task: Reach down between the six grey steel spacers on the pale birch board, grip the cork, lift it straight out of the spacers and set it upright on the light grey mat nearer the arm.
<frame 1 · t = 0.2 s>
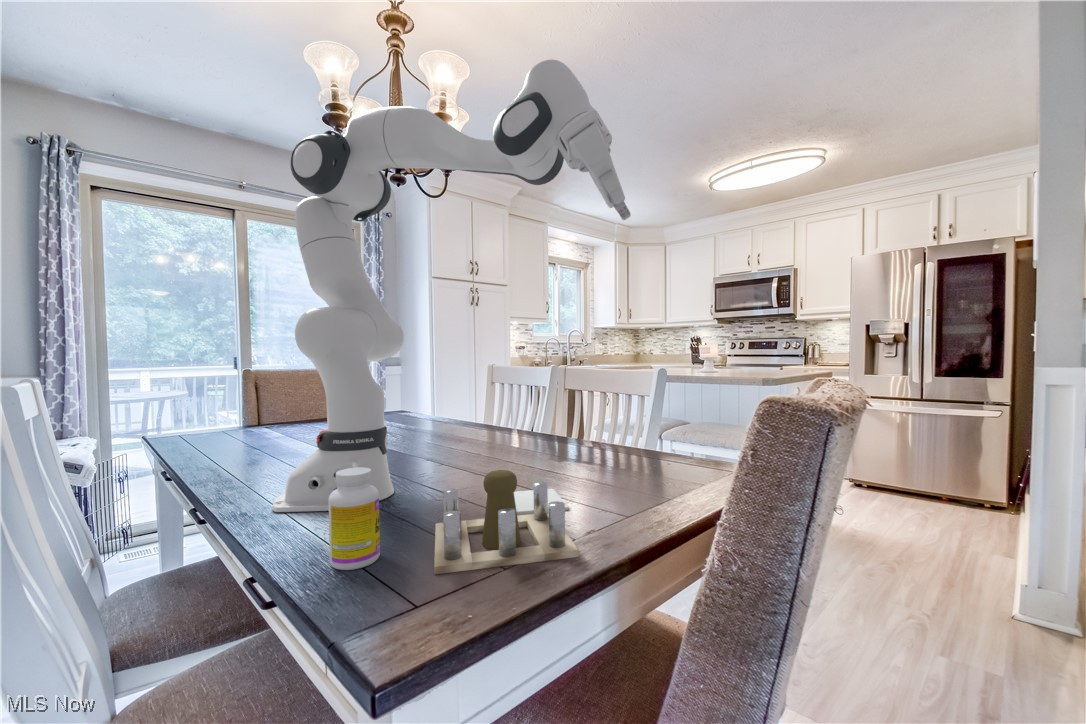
hand: (624, 209, 78), 54 cm above the table, tool tilted 30°, fingers open, 8 cm apart
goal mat: (530, 502, 88), on the table
steel spacers: (501, 516, 70), on the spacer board, point 4 cm above the table
supplement bottle: (355, 562, 64), on the table
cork: (501, 543, 70), resting in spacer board
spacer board: (501, 542, 70), on the table
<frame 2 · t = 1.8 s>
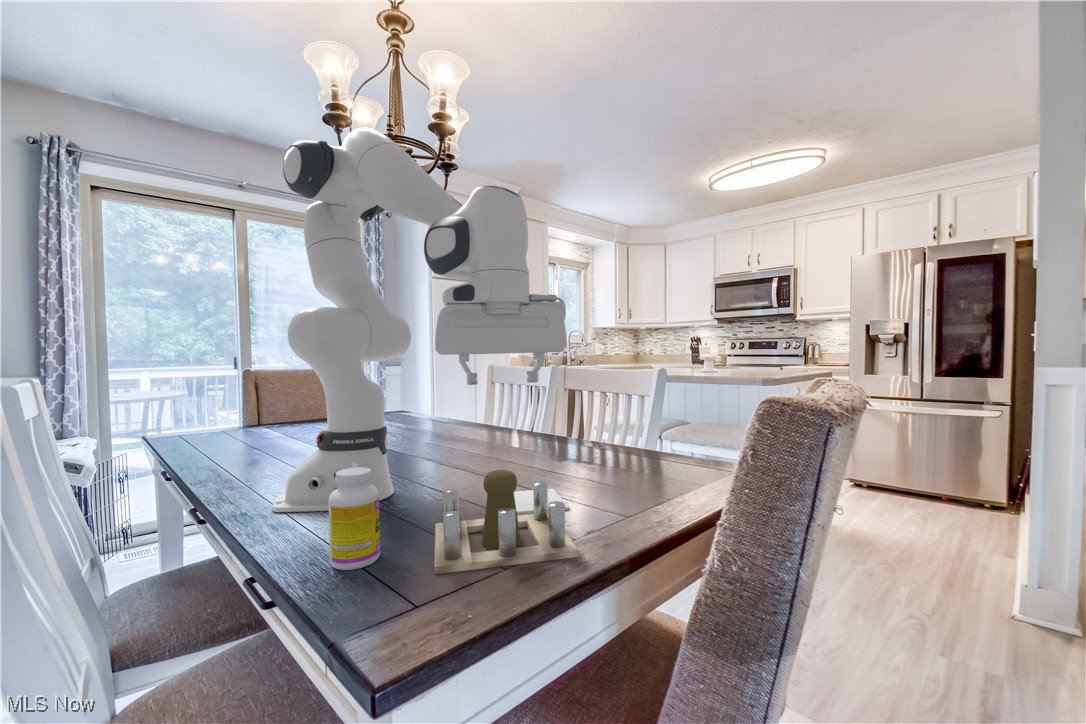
hand: (502, 383, 70), 25 cm above the table, tool pointing down, fingers open, 8 cm apart
nothing on the table moved.
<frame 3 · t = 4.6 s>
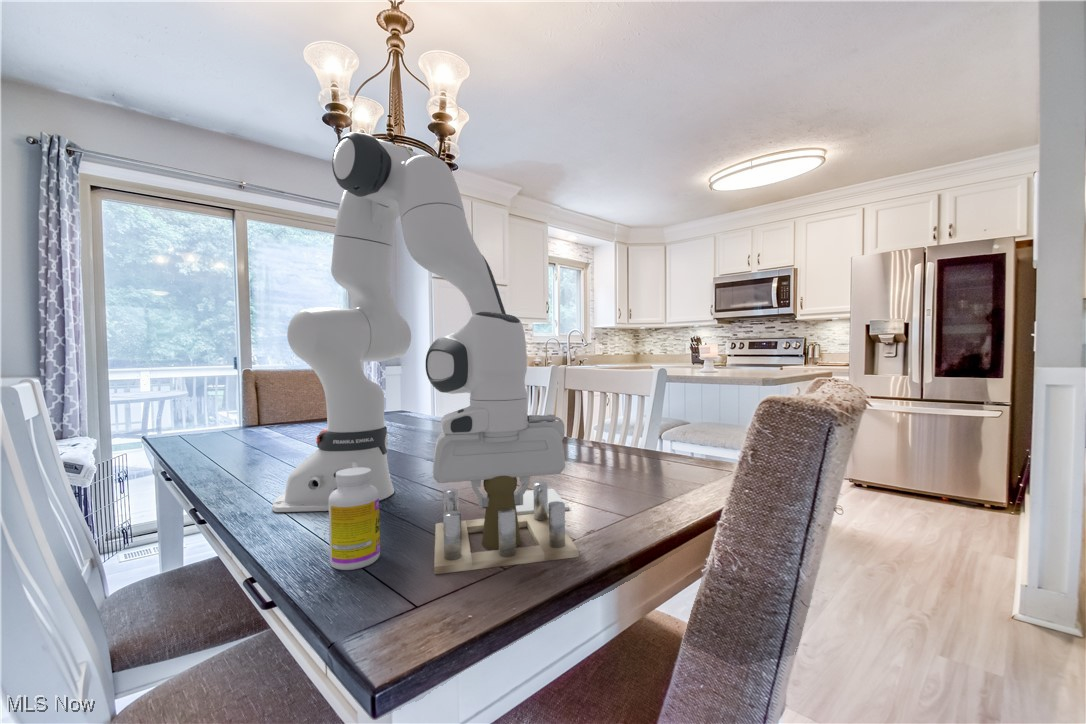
hand: (500, 506, 70), 6 cm above the table, tool pointing down, fingers closed on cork, 4 cm apart
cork: (501, 543, 70), resting in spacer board, touching gripper
everything else where it was.
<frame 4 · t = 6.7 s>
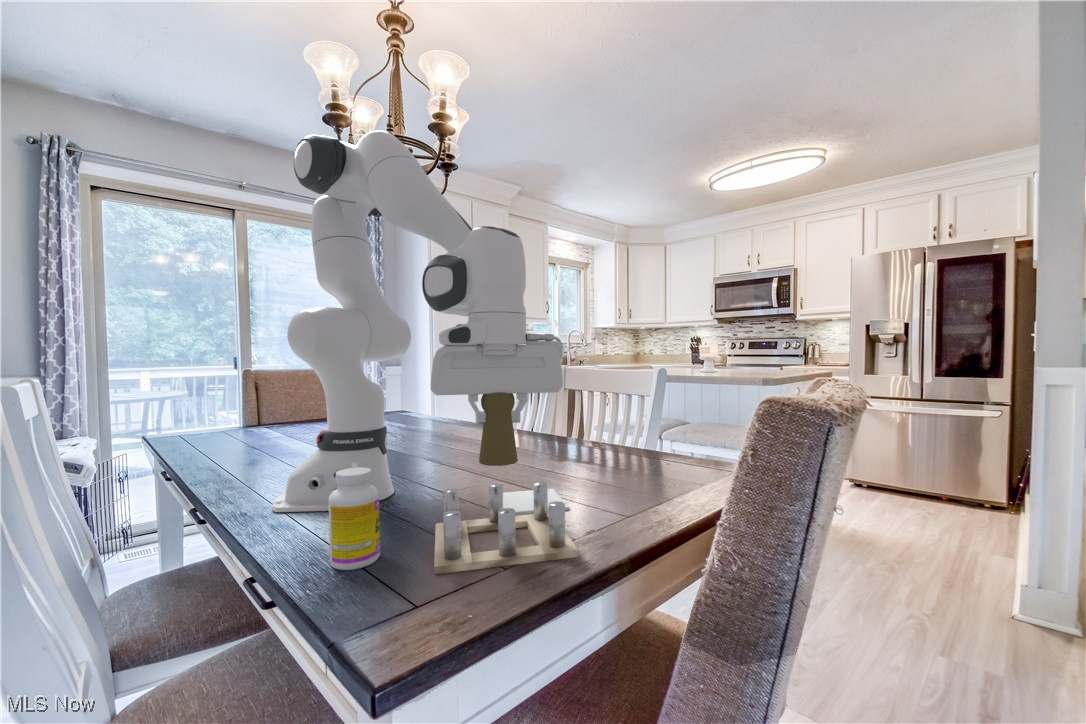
hand: (497, 423, 70), 18 cm above the table, tool pointing down, fingers closed on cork, 4 cm apart
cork: (498, 462, 70), point 12 cm above the table, touching gripper
everything else where it was.
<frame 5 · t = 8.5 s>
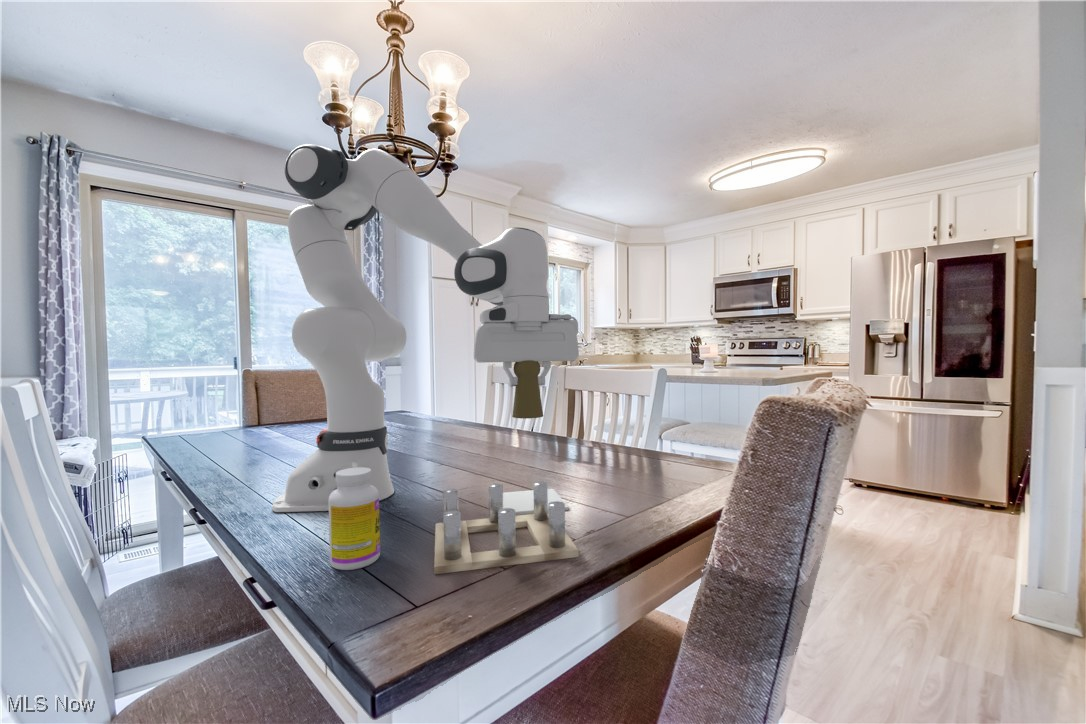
hand: (527, 385, 87), 23 cm above the table, tool pointing down, fingers closed on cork, 4 cm apart
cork: (527, 417, 87), point 17 cm above the table, touching gripper
everything else where it was.
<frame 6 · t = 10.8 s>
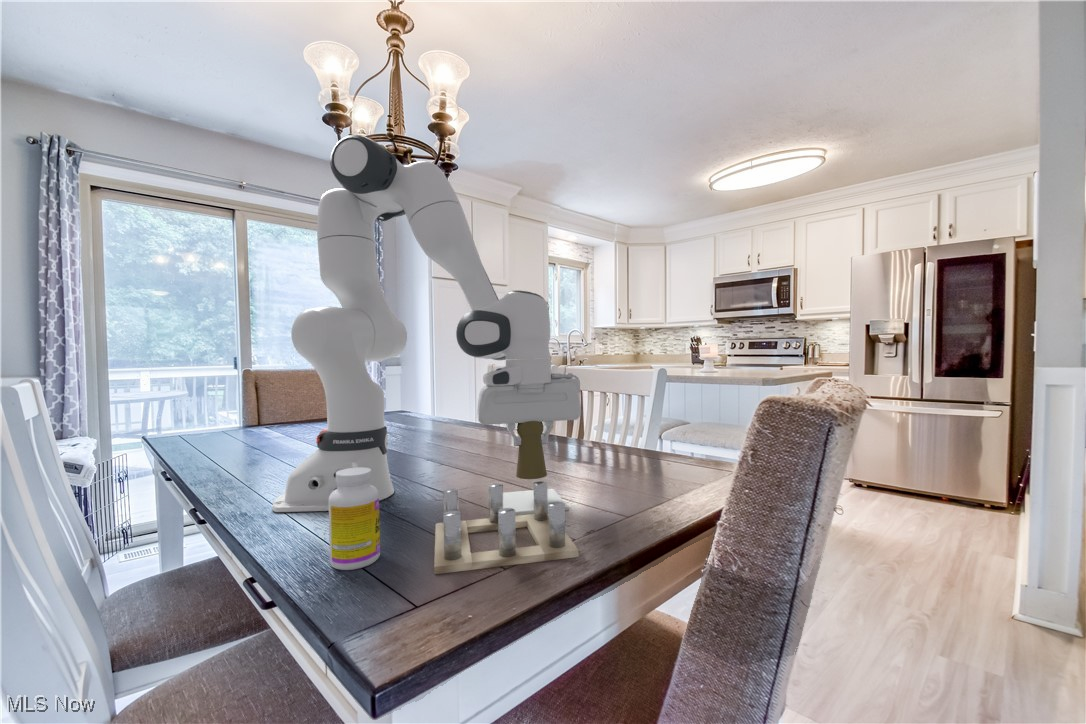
hand: (530, 445, 88), 11 cm above the table, tool pointing down, fingers closed on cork, 4 cm apart
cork: (531, 476, 88), point 5 cm above the table, touching gripper
everything else where it was.
when the fingers open (8 cm above the table, at t = 12.5 s): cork stays where it is, resting on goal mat.
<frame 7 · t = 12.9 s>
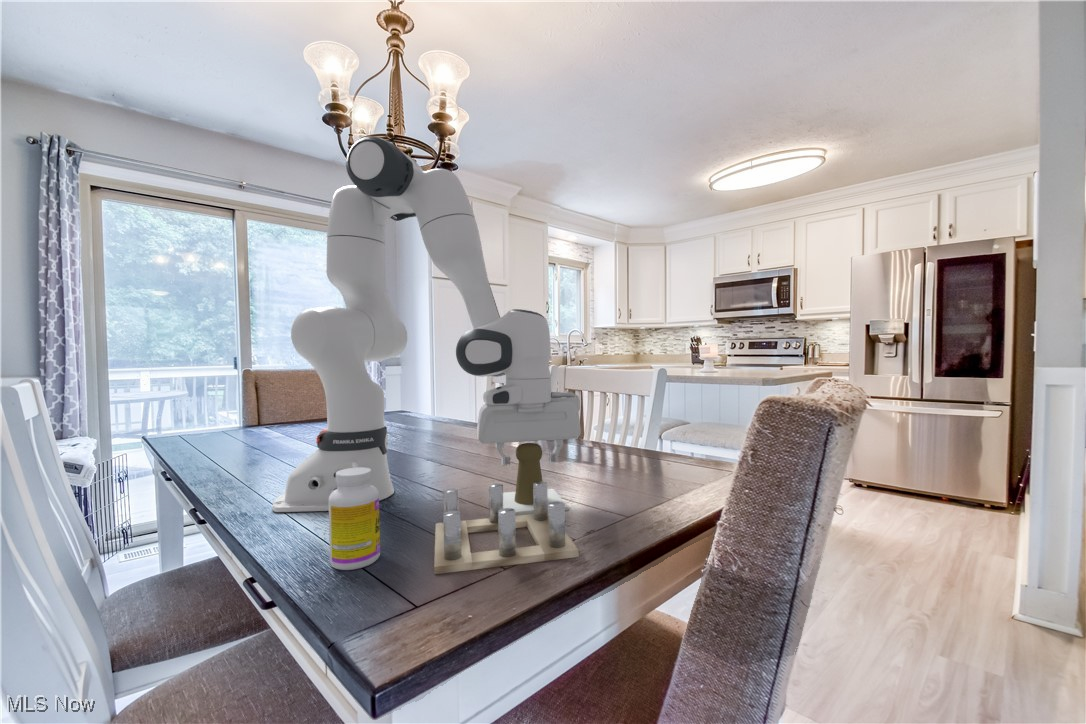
hand: (529, 463, 88), 8 cm above the table, tool pointing down, fingers open, 8 cm apart
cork: (529, 500, 88), resting on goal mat
everything else where it was.
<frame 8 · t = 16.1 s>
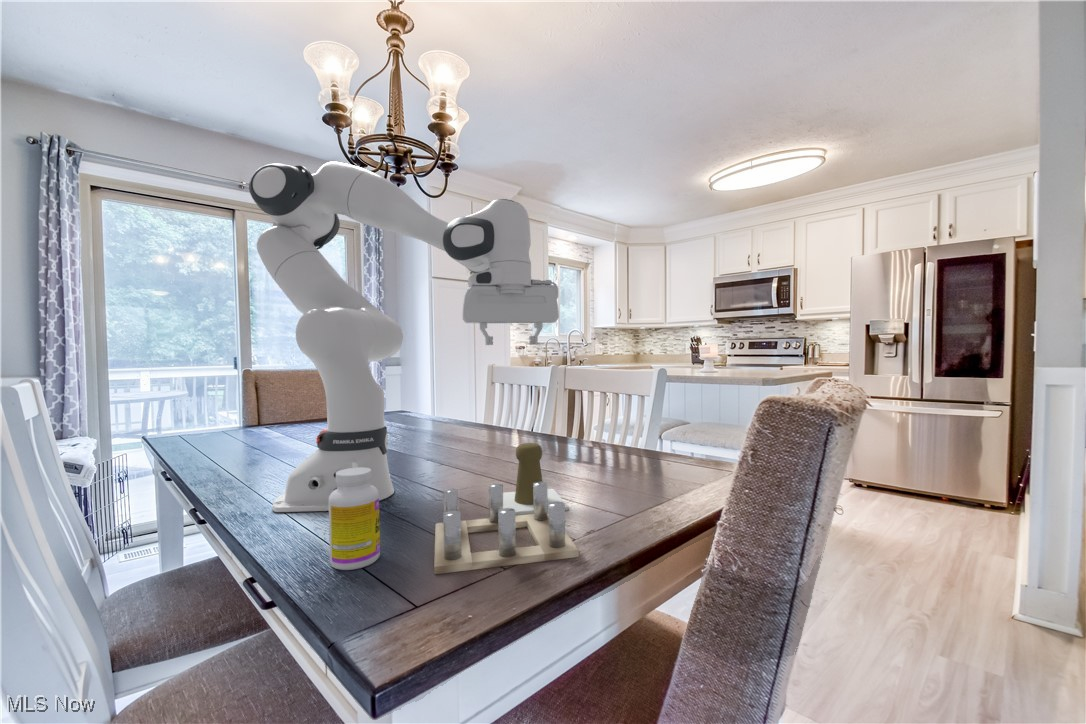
hand: (511, 344, 95), 31 cm above the table, tool pointing down, fingers open, 8 cm apart
nothing on the table moved.
at the end: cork inside the target area on the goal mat (0.1 cm from its centre), point 0.4 cm above the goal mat's base; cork tilted 0°; the gripper is holding nothing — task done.
